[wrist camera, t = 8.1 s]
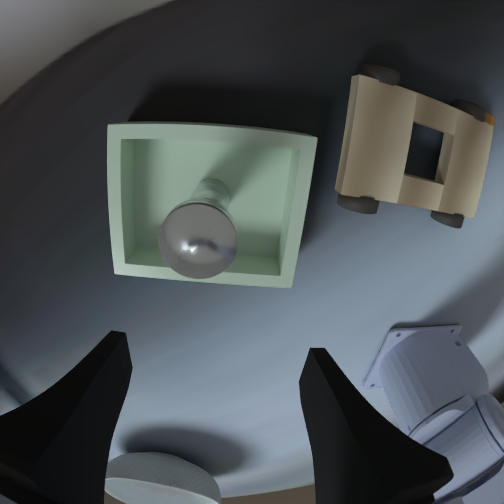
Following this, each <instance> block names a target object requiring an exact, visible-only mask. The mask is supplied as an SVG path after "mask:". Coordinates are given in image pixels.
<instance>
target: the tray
mask: <svg viewBox="0 0 504 504" xmlns="http://www.w3.org/2000/svg"><path fill="white" fill-rule="evenodd" d="M316 145H317V137H314V136H312V135H309V134H306V133H300V132H293V131H286V130H278V129H270V128H261V127H251V126H241V125H229V124H215V123H196V122H162V121H139V122H122V123H115V124H109V125H108V138H107V177H108V204H109V221H110V234H111V245H112V255H113V264H114V272H115V274H120V275H130V276H140V277H151V278H161V279H172V280H184V281H196V282H208V283H221V284H235V285H249V286H264V287H280V288H292V283H293V278H294V273H295V268H296V262H297V257H298V252H299V247H300V241H301V236H302V230H303V225H304V219H305V213H306V208H307V202H308V196H309V190H310V184H311V178H312V171H313V165H314V159H315V152H316ZM206 179H217V180H220V181H222V182H223V183H224V184H225V185H226V186H227V188H228V190H229V193H230V200H229V209H228V211H229V213H230V214H231V215H232V217H233V219H234V221H235V223H236V227H237V234H238V235H237V252H236V255H235V258H234V260H233V262H232V263H231V264H230V266H229V267H228V268H227V269H226V270H225V271H223V272H222V273H220V274H219V275H216V276H214V277H211V278H206V279H193V278H188V277H185V276H182V275H180V274H178V273H177V272H175V271H174V270H172V269H171V268H170V267H169V266H168V265H167V264H166V262H165V261H164V259H163V258H162V256H161V254H160V251H159V247H158V234H159V230H160V227H161V225H162V223H163V222H164V220H165V219H166V217H167V215H168V214H169V213H170V211H171V210H172V209H173V208H174V207H175V206H176V205H178V204H179V203H181V202H183V201H186V200H189V199H190V197H191V195H192V194H193V192H194V190H195V188H196V187H197V185H198V184H199V183H200V182H202V181H203V180H206Z"/></svg>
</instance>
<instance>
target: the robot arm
mask: <svg viewBox="0 0 504 504" xmlns="http://www.w3.org/2000/svg"><path fill="white" fill-rule="evenodd" d="M461 330H462V327H461V325H449V326H434V327H416V328H394V329H391V330H390V331H389V333H388V335H387V337H386V339H385V341H384V344H383V346H382V348H381V350H380V352H379V354H378V356H377V358H376V360H375V362H374V364H373V366H372V368H371V370H370V372H369V374H368V376H367V378H366V380H365V382H364V384H363V386H364V388H365V389H369V388H378V387H383V388H384V391H385V393H386V396H387V398H388V400H389V403H390V405H391V407H392V410H393V412H394V415H395V417H396V420H397V422H398V425H399V427H400V430H399V429H398V428H397V427H395V426H394V425H393V424H391V423H390V422H389V421H388V420H387V419H385V418H384V417H383V416H382V415H381V414H380V413H379V412H378V411H377V410H376V409H375V408H374V407H373V406H372V405H371V404H370V403H369V402H368V401H367V400H366V399H365V398H364V397H363V396H362V395H361V394H360V392H359V391H358V390H357V389H356V388H355V387H354V385H353V384H352V383H351V382H350V380H349V379H348V378H347V377H346V375H345V374H344V373H343V372H342V370H341V369H340V368H339V366H338V365H337V364H336V362H335V361H334V360H333V358H332V357H331V356H330V354H329V353H328V352H327V350H326V349H325V348H310V350H309V353H308V356H307V359H306V362H305V365H304V368H303V371H302V374H301V377H300V380H299V387H300V398H301V405H302V410H303V414H304V419H305V423H306V428H307V432H308V436H309V441H310V445H311V450H312V456H313V466H314V477H315V491H316V504H504V460H503V458H504V409H503V407H502V406H501V405H500V403H499V402H498V401H497V400H496V399H495V398H494V397H493V396H492V395H488V391H489V384H488V378H487V374H486V372H485V370H484V368H483V367H482V365H481V364H480V363H479V361H478V360H477V358H476V357H475V356H474V354H473V353H472V351H471V350H470V349H469V347H468V346H467V345H466V343H465V342H464V341H463V339H462V338H461V337H460V335H459V334H460V332H461ZM132 368H133V367H132V362H131V358H130V353H129V348H128V342H127V337H126V333H124V332H118V331H111V332H109V333H108V334H107V335H106V336H105V337H104V338H103V339H102V340H101V341H100V342H99V343H98V345H97V346H96V347H95V348H94V349H93V350H92V351H91V352H90V353H89V354H88V355H86V356H85V357H84V358H83V359H82V360H81V361H80V362H79V363H78V364H77V365H76V366H75V367H74V368H73V369H72V370H70V371H69V372H68V373H67V374H66V375H65V376H64V377H63V378H61V379H60V380H59V381H58V382H56V383H55V384H54V385H53V386H51V387H50V388H49V389H47V390H46V391H44V392H43V393H41V394H40V395H38V396H37V397H35V398H33V399H32V400H30V401H29V402H27V403H25V404H23V405H22V406H20V407H18V408H16V409H14V410H12V411H10V412H7V413H5V414H3V415H1V416H0V504H104V491H105V479H106V471H107V464H108V457H109V451H110V446H111V441H112V437H113V433H114V430H115V427H116V424H117V421H118V418H119V415H120V412H121V409H122V406H123V403H124V400H125V397H126V394H127V391H128V387H129V383H130V378H131V373H132ZM501 460H503V461H502V462H501V463H500V464H499V465H497V466H496V467H495V468H493V469H492V470H491V471H489V472H488V473H487V474H485V475H484V476H482V477H481V478H479V479H478V480H476V481H475V482H473V483H472V484H470V485H469V486H467V487H466V488H464V489H462V490H461V491H459V492H457V493H455V494H452V493H454V492H456V491H458V490H459V489H461V488H462V487H464V486H465V485H467V484H469V483H470V482H472V481H473V480H475V479H476V478H478V477H479V476H480V475H482V474H484V473H485V472H486V471H488V470H489V469H490V468H492V467H493V466H495V465H496V464H497V463H499V462H500V461H501Z"/></svg>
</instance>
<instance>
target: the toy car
mask: <svg viewBox="0 0 504 504" xmlns="http://www.w3.org/2000/svg"><path fill="white" fill-rule="evenodd" d="M399 84H400V73H399V72H397V71H396V70H393V69H391V68H388V67H384V66H380V65H375V64H359V65H358V72H357V75H355V76H352V79H351V88H350V96H349V103H348V111H347V118H346V125H345V131H344V138H343V144H342V151H341V157H340V163H339V168H338V174H337V180H336V185H335V190H336V191H337V192H338V193H339V195H338V201H337V203H338V204H339V205H340V206H342V207H343V208H346V209H348V210H351V211H355V212H359V213H364V214H375V213H377V209H378V205H379V201H385V202H391V203H397V204H403V205H408V206H414V207H419V208H424V209H429V210H432V212H431V217H432V218H433V219H434V220H436V221H438V222H440V223H442V224H445V225H447V226H450V227H454V228H461V227H462V223H463V220H464V217H468V218H472V219H474V216H475V212H476V209H477V205H478V202H479V198H480V194H481V190H482V186H483V182H484V177H485V173H486V168H487V163H488V158H489V153H490V148H491V142H492V135H493V130H494V123H495V117H494V116H492V115H490V114H488V113H487V112H486V110H485V109H484V108H482V107H480V106H478V105H476V104H473V103H470V102H467V101H463V100H453V106H450V105H447V104H445V103H442V102H440V101H438V100H435V99H433V98H430V97H427V96H425V95H422V94H419V93H417V92H414V91H411V90H408V89H405V88H403V87H400V86H399ZM413 123H416V124H420V125H423V126H426V127H428V128H431V129H434V130H437V131H440V132H443V133H444V135H443V141H442V147H441V152H440V157H439V162H438V167H437V172H436V176H435V181H434V180H431V179H427V178H423V177H418V176H414V175H410V174H406V173H404V170H405V165H406V160H407V155H408V149H409V144H410V138H411V132H412V126H413Z"/></svg>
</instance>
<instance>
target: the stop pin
mask: <svg viewBox="0 0 504 504" xmlns="http://www.w3.org/2000/svg"><path fill="white" fill-rule="evenodd" d="M229 200H230V193H229V190H228V188H227V186H226V185H225V184H224V183H223V182H222V181H220V180H217V179H206V180H203V181H202V182H200V183H199V184H198V185H197V187H196V188H195V190H194V192H193V194H192V195H191V197H190V199H189V200H186V201H183V202H181V203H179V204H178V205H176V206H175V207H174V208H173V209H172V210H171V211H170V213H169V214H168V215H167V217H166V219H165V220H164V222H163V223H162V225H161V227H160V230H159V234H158V247H159V251H160V254H161V256H162V258H163V259H164V261H165V262H166V264H167V265H168V266H169V267H170V268H171V269H172V270H174V271H175V272H177V273H178V274H180V275H182V276H185V277H188V278H193V279H206V278H211V277H214V276H216V275H219V274H220V273H222V272H223V271H225V270H226V269H227V268H228V267H229V266H230V264H231V263H232V262H233V260H234V258H235V255H236V252H237V235H238V234H237V227H236V223H235V221H234V219H233V217H232V215H231V214H230V213H229V211H228V209H229Z"/></svg>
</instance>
